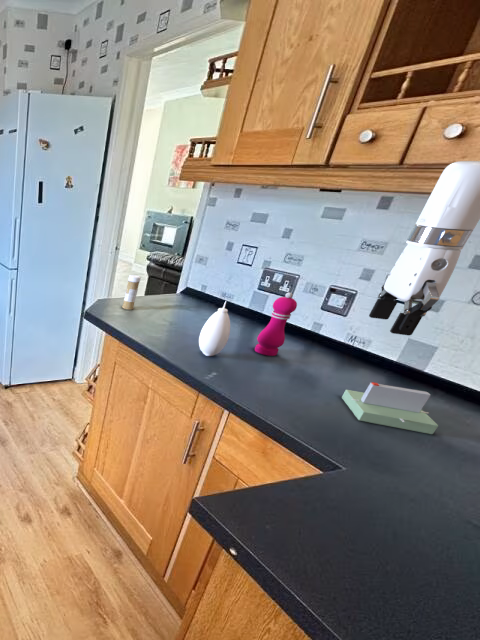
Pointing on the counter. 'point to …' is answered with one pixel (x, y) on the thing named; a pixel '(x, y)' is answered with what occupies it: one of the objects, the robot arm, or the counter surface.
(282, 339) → the pepper mill
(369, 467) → the counter surface
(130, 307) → the sprinkles bottle
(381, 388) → the white rectangular block
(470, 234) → the robot arm
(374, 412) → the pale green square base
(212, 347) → the white air blower bulb
